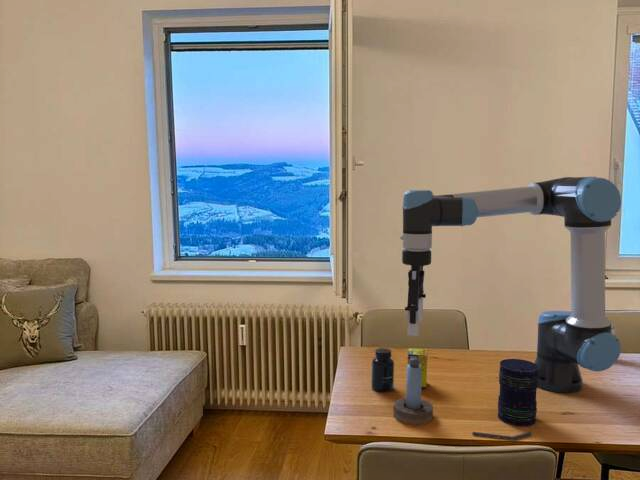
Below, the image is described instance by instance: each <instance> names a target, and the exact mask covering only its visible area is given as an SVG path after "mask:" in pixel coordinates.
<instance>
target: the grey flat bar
mask: <svg viewBox="0 0 640 480" xmlns="http://www.w3.org/2000/svg"><path fill="white" fill-rule="evenodd" d="M473 434H474V435H473ZM532 434H533V433H532V432H531V431H528V432H525V433H519V434H517V435H511V436H510V435H502V434H494V433H485V432H479V431H477V432H476V431H472V435H473V436H476V435H481V436H480V437H484V436H489V437H488V438H492V437H500V438H499V439H501V438H507V439H506V440H509V439H514V440H513V441H516V440H518V439H517V438H519V439H522V438H521V437H523V438H525V437H529V436H532Z"/></svg>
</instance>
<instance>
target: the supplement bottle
mask: <svg viewBox="0 0 640 480" xmlns="http://www.w3.org/2000/svg"><path fill="white" fill-rule="evenodd" d="M374 356H375V357H373V359H372V360H371V385H370V386H371V388H372V389H373V391H375V392H379V393H387V392H391V391H392V390H393V389H394V381H395V380H394V379H395V362H394V360H393V358H392V350H391V349H390V348H386V347H385V348H383V347H381V348H376V349H375V355H374Z"/></svg>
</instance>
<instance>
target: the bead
mask: <svg viewBox="0 0 640 480" xmlns="http://www.w3.org/2000/svg"><path fill="white" fill-rule="evenodd" d="M393 417H394V418H395V420H396V421H398V422H401V423H403V424H406V425H412V426H420V425H422V426H423V425H427V424H429V423H431V422H432V421H433V417H434V405H433V404H432V403H431V402H430V401H428V400H425V399H423V398H421V409H420V410H410V409H407V408H406V397H402V398H399V399H398V400H395V401H394V404H393Z"/></svg>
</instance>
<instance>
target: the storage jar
mask: <svg viewBox="0 0 640 480" xmlns="http://www.w3.org/2000/svg"><path fill="white" fill-rule="evenodd" d="M498 377H499V378H498V382H499V383H498V384H499V395H498V401H497V411H498V412H497V418H498V420H500V421H501V422H502V423H504V424H507V425H509V426H512V427H520V428H526V427H532V426H533V425H536V423H537V419H536V417H537V412H538V408H537V405H538V402H537V389H538V388H539V387H538V366H537V365H536V364H535V362H532V361H529V360H526V359H519V358H506V359H502V360H501V361H500V362H499V372H498Z"/></svg>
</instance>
